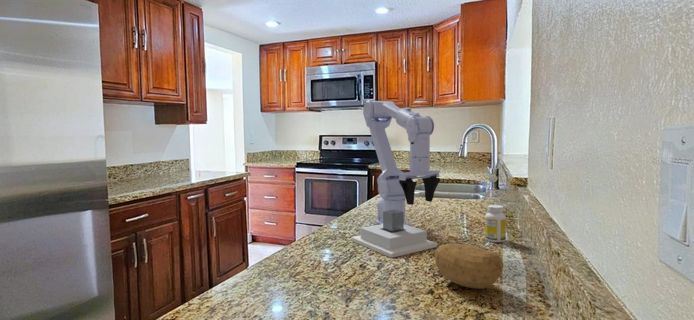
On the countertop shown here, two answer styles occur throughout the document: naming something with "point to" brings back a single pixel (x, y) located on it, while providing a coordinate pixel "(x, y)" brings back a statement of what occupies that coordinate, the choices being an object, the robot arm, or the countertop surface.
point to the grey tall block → (393, 221)
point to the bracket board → (396, 251)
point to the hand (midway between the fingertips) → (419, 202)
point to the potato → (468, 265)
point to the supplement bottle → (495, 224)
